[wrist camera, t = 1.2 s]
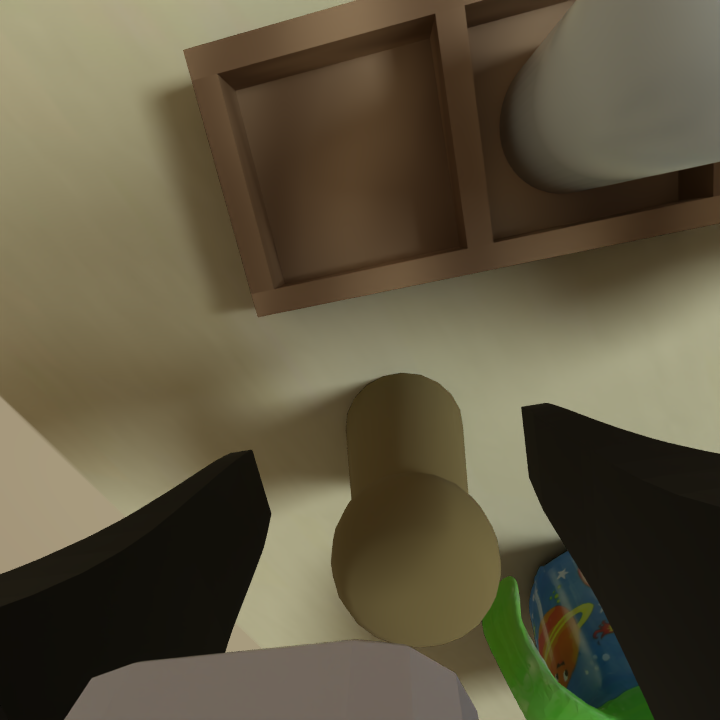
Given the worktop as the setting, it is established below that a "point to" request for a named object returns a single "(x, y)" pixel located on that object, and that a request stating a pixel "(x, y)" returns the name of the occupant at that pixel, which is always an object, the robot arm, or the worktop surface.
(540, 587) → the snack cup
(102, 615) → the robot arm
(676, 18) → the salt shaker
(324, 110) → the caddy
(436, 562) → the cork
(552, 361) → the worktop surface
